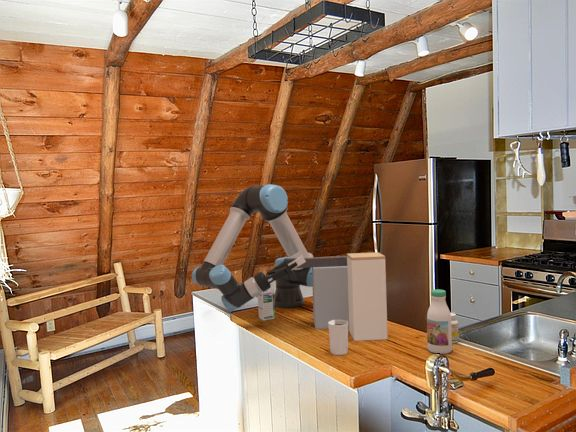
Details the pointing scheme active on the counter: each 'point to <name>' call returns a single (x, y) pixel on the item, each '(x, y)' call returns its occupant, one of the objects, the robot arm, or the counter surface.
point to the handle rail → (321, 261)
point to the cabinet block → (367, 296)
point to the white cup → (338, 337)
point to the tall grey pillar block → (330, 295)
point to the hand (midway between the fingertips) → (303, 256)
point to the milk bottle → (439, 324)
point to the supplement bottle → (454, 328)
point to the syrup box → (266, 304)
